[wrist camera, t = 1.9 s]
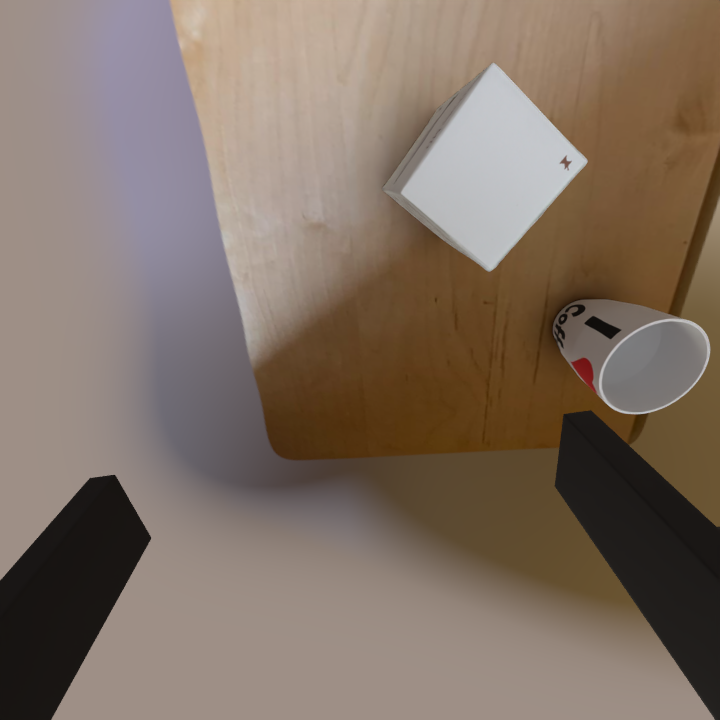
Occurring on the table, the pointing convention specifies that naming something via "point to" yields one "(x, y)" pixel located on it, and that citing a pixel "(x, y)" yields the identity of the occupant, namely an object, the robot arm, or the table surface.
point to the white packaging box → (484, 168)
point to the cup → (631, 352)
